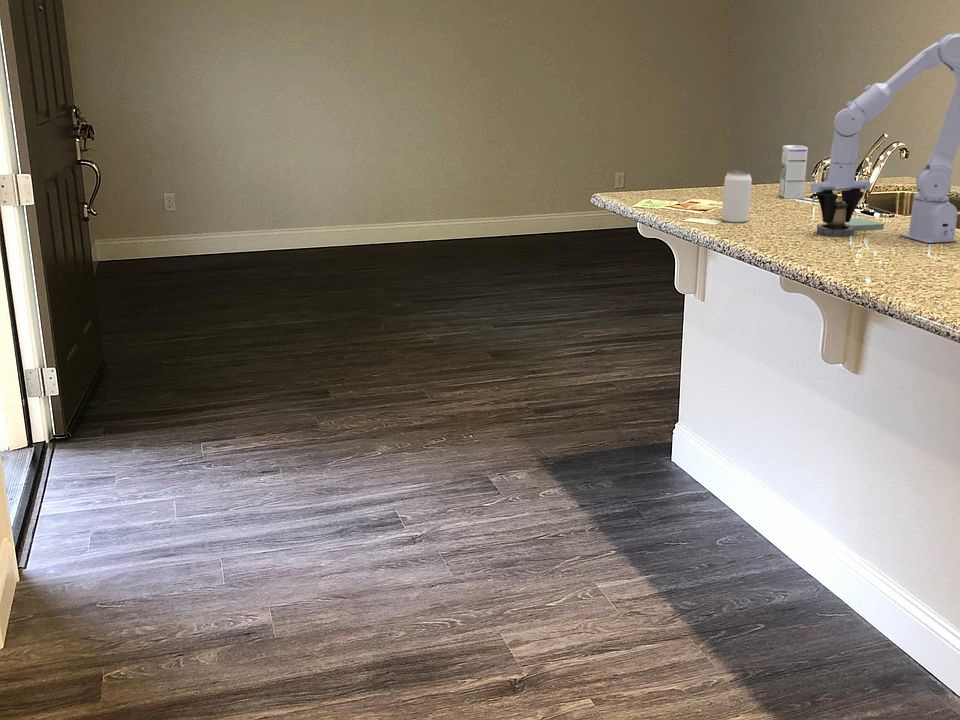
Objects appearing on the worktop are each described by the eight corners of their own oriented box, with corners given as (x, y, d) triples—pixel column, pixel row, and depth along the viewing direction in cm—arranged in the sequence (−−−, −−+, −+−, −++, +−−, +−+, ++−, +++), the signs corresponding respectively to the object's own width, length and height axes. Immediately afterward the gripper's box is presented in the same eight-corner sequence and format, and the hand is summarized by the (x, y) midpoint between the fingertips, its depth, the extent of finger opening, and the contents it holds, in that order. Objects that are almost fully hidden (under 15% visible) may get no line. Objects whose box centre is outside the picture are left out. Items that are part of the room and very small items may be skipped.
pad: (883, 228, 232) (884, 223, 232) (851, 230, 230) (851, 225, 230) (859, 222, 241) (859, 217, 240) (827, 224, 238) (828, 219, 238)
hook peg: (849, 234, 226) (853, 201, 223) (832, 235, 224) (836, 202, 222) (837, 231, 230) (841, 198, 227) (820, 232, 229) (824, 199, 226)
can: (748, 223, 239) (753, 174, 235) (721, 222, 240) (725, 173, 236) (747, 219, 245) (751, 170, 241) (720, 218, 246) (724, 170, 242)
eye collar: (860, 235, 225) (861, 229, 224) (830, 237, 222) (831, 230, 222) (839, 229, 232) (839, 223, 231) (809, 231, 230) (810, 224, 229)
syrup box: (804, 199, 276) (809, 146, 271) (783, 199, 276) (788, 146, 271) (798, 196, 281) (803, 144, 276) (777, 196, 281) (782, 144, 276)
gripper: (859, 159, 228) (852, 217, 232) (805, 161, 224) (799, 220, 228) (878, 163, 221) (871, 222, 225) (823, 165, 217) (817, 225, 222)
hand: (836, 222), depth 226 cm, fingers open, 4 cm apart
